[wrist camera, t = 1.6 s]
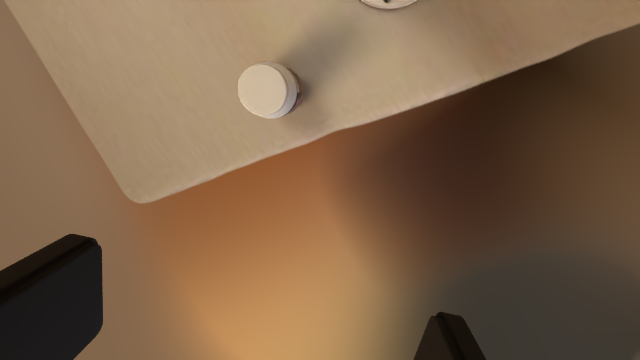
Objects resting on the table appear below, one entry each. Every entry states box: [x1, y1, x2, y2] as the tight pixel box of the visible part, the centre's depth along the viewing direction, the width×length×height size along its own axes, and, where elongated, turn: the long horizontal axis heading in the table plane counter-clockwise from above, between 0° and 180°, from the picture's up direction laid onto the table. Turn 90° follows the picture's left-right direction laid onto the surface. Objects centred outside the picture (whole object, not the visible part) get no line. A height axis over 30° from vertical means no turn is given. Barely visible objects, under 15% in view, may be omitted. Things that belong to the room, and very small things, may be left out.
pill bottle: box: [238, 61, 303, 119], centre depth 32 cm, size 6×6×10 cm
